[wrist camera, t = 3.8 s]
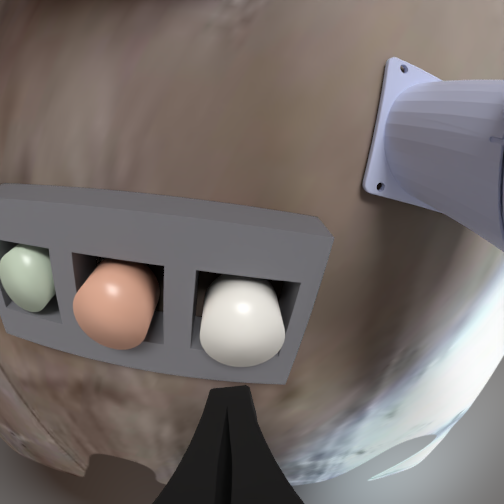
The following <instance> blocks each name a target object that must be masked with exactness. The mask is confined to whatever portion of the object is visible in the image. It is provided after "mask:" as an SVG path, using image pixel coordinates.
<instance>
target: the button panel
mask: <svg viewBox="0 0 504 504" xmlns="http://www.w3.org/2000/svg"><path fill="white" fill-rule="evenodd" d="M333 241H334V237H333V236H332V234H331V233H330V232H329V231H328V229H327V228H326V227H325V226H324V224H323V223H322V222H321V221H320V220H319V218H318V217H314V216H308V215H302V214H296V213H290V212H284V211H277V210H271V209H264V208H258V207H251V206H244V205H237V204H230V203H222V202H215V201H207V200H199V199H191V198H183V197H174V196H165V195H156V194H147V193H137V192H127V191H116V190H105V189H93V188H80V187H66V186H50V185H31V184H8V183H4V184H1V185H0V261H1V259H2V257H3V256H4V255H5V254H6V253H8V252H9V251H10V250H11V249H13V248H14V247H15V246H17V245H18V244H19V243H20V244H26V245H31V246H37V247H43V248H49V255H50V262H51V268H52V275H53V280H54V286H55V291H56V294H55V295H54V296H53V297H52V298H51V300H50V301H49V302H48V303H47V305H46V306H45V307H44V308H43V309H42V310H41V311H38V312H30V311H27V310H24V309H22V308H21V307H19V306H18V305H17V304H16V303H15V302H14V301H13V300H12V299H11V298H10V297H9V296H8V294H7V293H6V291H5V289H4V287H3V285H2V282H1V279H0V316H1V319H2V322H3V324H4V327H5V330H6V332H7V333H9V334H11V335H14V336H17V337H20V338H23V339H26V340H28V341H31V342H34V343H37V344H41V345H44V346H47V347H50V348H54V349H57V350H60V351H64V352H67V353H71V354H75V355H78V356H82V357H86V358H90V359H94V360H98V361H103V362H107V363H111V364H116V365H121V366H126V367H131V368H136V369H141V370H147V371H152V372H158V373H165V374H171V375H178V376H185V377H193V378H201V379H210V380H220V381H232V382H245V383H262V384H285V383H286V381H287V378H288V376H289V373H290V370H291V368H292V365H293V362H294V360H295V357H296V354H297V352H298V349H299V346H300V343H301V341H302V338H303V335H304V332H305V329H306V326H307V323H308V321H309V318H310V315H311V312H312V309H313V306H314V303H315V300H316V297H317V293H318V290H319V287H320V284H321V281H322V278H323V274H324V271H325V268H326V265H327V261H328V258H329V254H330V251H331V248H332V244H333ZM96 256H99V257H106V258H112V259H119V260H126V261H133V262H140V263H147V264H154V265H161V266H164V303H163V312H161V311H154V314H153V317H152V320H151V323H150V325H149V328H148V331H147V334H146V337H145V339H144V340H143V341H142V342H141V344H139V345H138V346H136V347H134V348H131V349H126V350H117V349H112V348H108V347H105V346H103V345H101V344H99V343H97V342H96V341H94V340H93V339H91V338H90V337H89V336H88V335H87V334H86V333H85V332H84V331H83V330H82V329H81V327H80V326H79V324H78V322H77V321H76V318H75V316H74V312H73V300H74V297H75V295H76V293H77V292H78V290H79V289H80V288H81V286H82V285H83V284H84V283H85V281H86V280H87V279H88V277H89V276H90V275H91V274H92V272H93V271H94V270H95V268H96V267H97V265H96ZM199 271H206V272H214V273H222V274H230V275H238V276H246V277H255V278H263V279H272V280H281V281H284V283H283V287H282V291H281V295H280V299H279V307H280V312H281V316H282V320H283V325H284V329H285V340H284V343H283V345H282V347H281V349H280V350H279V351H278V353H277V354H276V355H275V356H273V357H272V358H271V359H269V360H267V361H266V362H263V363H261V364H258V365H254V366H249V367H234V366H229V365H225V364H222V363H220V362H218V361H216V360H214V359H213V358H212V357H210V356H209V355H208V354H207V353H206V352H205V350H204V349H203V347H202V345H201V342H200V328H201V321H202V317H196V316H195V314H196V302H197V290H198V279H199Z"/></svg>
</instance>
